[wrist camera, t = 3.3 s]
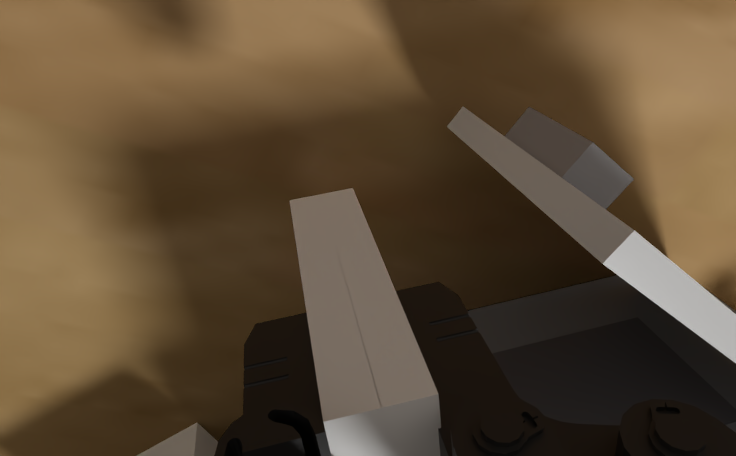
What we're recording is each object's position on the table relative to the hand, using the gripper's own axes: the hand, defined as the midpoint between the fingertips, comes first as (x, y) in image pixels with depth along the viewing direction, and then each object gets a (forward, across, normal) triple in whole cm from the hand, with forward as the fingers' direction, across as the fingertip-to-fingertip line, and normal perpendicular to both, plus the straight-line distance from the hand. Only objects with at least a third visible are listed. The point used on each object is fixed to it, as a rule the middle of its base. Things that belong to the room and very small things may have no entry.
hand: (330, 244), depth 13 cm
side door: (+5, +9, -3) cm, 11 cm away
